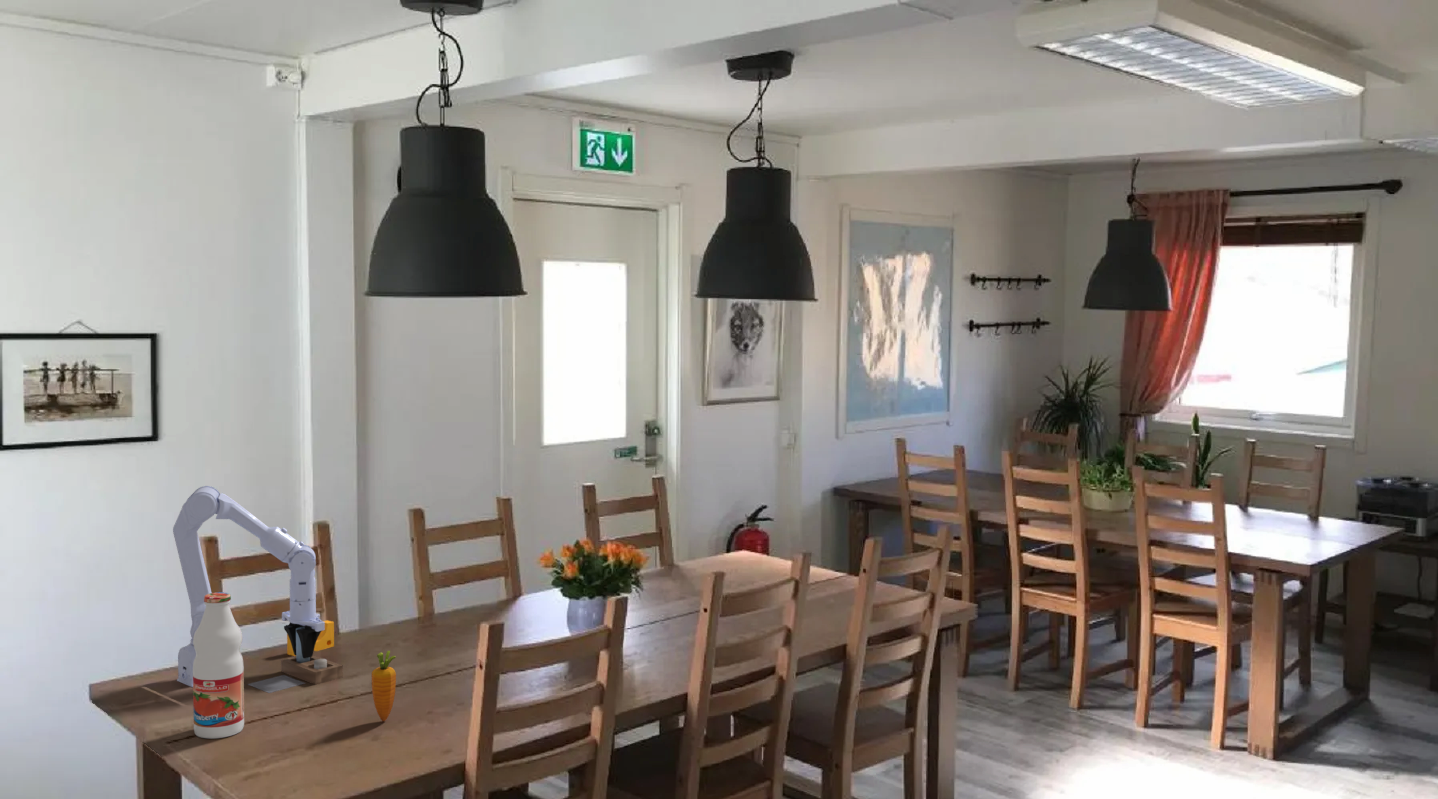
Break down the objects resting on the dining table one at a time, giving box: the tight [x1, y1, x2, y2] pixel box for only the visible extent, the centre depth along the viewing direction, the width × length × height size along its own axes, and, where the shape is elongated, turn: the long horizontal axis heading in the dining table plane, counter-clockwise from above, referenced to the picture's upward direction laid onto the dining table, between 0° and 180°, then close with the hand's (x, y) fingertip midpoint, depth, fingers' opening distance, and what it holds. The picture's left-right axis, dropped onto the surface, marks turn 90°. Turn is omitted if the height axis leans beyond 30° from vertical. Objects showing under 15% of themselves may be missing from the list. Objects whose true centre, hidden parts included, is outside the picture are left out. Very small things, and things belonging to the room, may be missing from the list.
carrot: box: [371, 650, 397, 723], centre depth 244 cm, size 5×5×15 cm
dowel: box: [296, 627, 310, 663], centre depth 274 cm, size 3×3×9 cm
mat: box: [247, 674, 306, 694], centre depth 265 cm, size 9×9×1 cm
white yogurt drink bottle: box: [192, 591, 245, 740], centre depth 236 cm, size 9×9×28 cm
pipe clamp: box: [286, 619, 335, 657], centre depth 292 cm, size 12×4×6 cm, turn 148°
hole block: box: [280, 654, 344, 686], centre depth 272 cm, size 7×14×4 cm, turn 52°
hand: (303, 655), depth 274 cm, fingers closed on dowel, 3 cm apart
